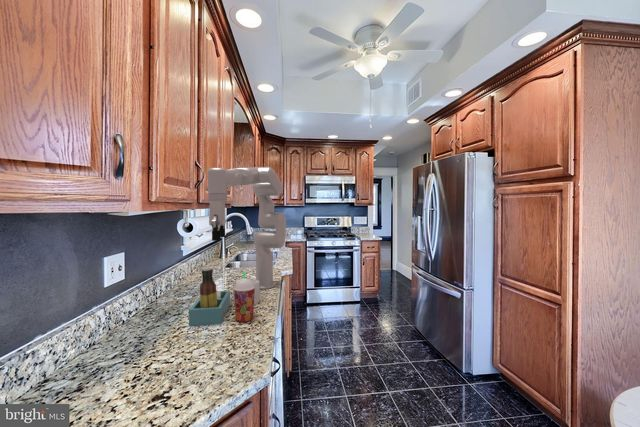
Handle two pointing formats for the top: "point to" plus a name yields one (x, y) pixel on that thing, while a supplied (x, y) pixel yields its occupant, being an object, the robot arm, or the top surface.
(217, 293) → the cream jar
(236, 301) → the smoothie
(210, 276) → the sauce bottle
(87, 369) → the top surface
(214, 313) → the bottle crate
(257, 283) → the toilet tissue
